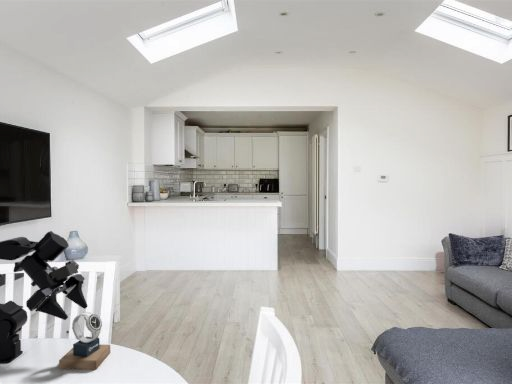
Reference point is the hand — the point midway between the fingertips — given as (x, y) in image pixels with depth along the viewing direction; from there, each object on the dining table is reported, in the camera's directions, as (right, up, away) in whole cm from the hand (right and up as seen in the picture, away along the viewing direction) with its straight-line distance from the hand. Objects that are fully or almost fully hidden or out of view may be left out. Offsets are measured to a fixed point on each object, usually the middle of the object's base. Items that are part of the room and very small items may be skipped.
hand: (76, 312), depth 111 cm
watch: (+3, -11, 0) cm, 12 cm away
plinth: (+3, -14, 0) cm, 14 cm away
